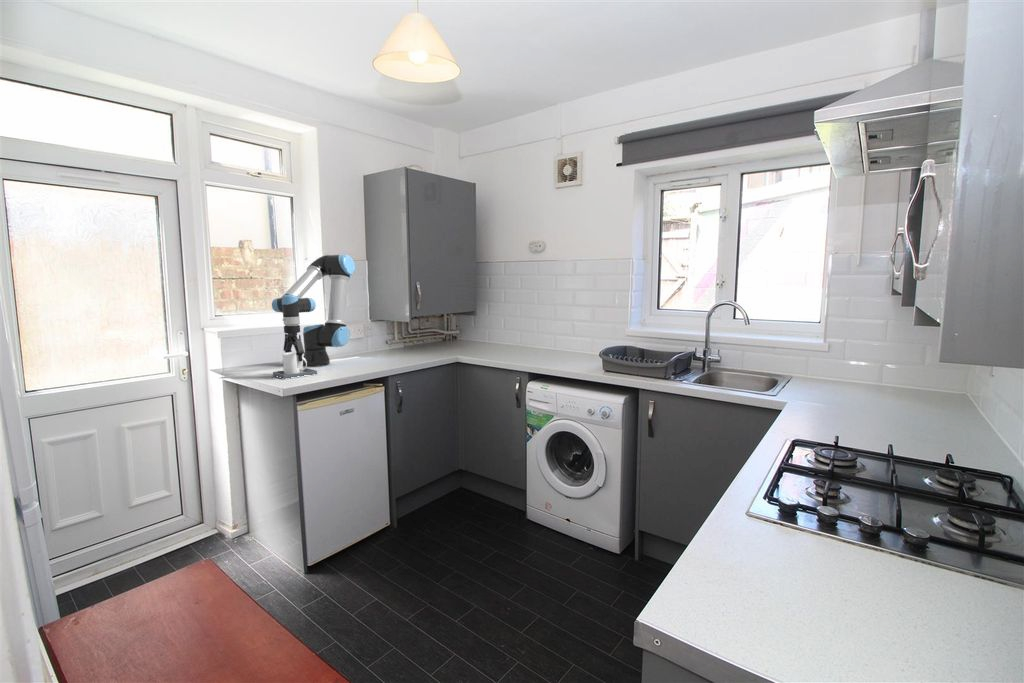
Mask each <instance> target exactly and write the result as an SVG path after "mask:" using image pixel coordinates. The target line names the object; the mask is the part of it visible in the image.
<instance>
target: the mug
mask: <svg viewBox="0 0 1024 683" xmlns="http://www.w3.org/2000/svg"><path fill="white" fill-rule="evenodd" d="M302 357H303V356H302ZM303 360H304V361H305V362H306V366H304V367H301V368H297V358H296V351H295V352H291V353H286V352H284V353H282V364H283V365H282V366H283V371H284V374H285V375H288V374H295V373H302V371H304V370H305V369H306V368H308V366H307V361H306V359H305V358H304V357H303Z"/></svg>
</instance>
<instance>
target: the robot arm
mask: <svg viewBox="0 0 1024 683" xmlns="http://www.w3.org/2000/svg"><path fill="white" fill-rule="evenodd" d="M355 270H356V266H355V261H354V260H353V258H352V257H351V255H349V254H325V255H322V256H320V257H318V258H316V259H315V260H314V261H313V262H311V263H310V264H309V265H308V266H307V268H306V271H305V272H303V274H302V275H301V276H300V277H299V278H298V279H297V280H296V281H295V282H294V283H293V285H291V287H290V288H289V289H288V290H287V291H286V292H285V293H284V294H283V295H282V296H281V297H277V298H274V299H273V300H272V302H271V308H272V309H273V311H274V312H275V313H282V323H283V325H284V326H283V333H284V340H283V341H284V342H283V343H284V344H283V350H282V351H283V352H284V353H292V347H294V349H295V352H296V358H297V368H301V367H302V368H304V367H305V366H306V362H305V361H304V360H303V357H304V358H305V359H306V361H307V367H316V366H315V365H319V366H324V365H325V364H326V365H328V364H331V360H330V357H329V355H328V352H327V349H326V348H329V347H330V348H331V347H332V348H339V347H341V348H342V347H344V346H346V345H347V344H348V342H349V340H350V336H351V335H350V331H349V330H350V329H349V328H348V327H347V324H346V323H345V322H344V321H345V307H346V296H347V294H346V293H347V284H348V283H347V282H348V281H349V280H350V279H351V278H350V277H351V276H352V275H354V273H355ZM325 276H328V278H329V279H330V280H331V281H330V289H329V290H330V292H329V301H328V302H329V304H328V314H327V320H326V321H325V322H324V323H322V324H320V323H319V324H315V325H308V326H307V325H306V326H304V327H303V328H302V329H303V331H302V332H303V333H302V336H303V342H302V338H301V334H298V333H301V326H300V324H301V321H300V314H301V313H302V314H303V313H310V312H313V311H315V309H316V307H317V306H316V301H315V300H314V298H312V297H303V296H304V295H305V294H306V293H307V292H308V291H309V290H310V289H311V288H312V287H313V286H314V284H316V282H317V281H319V280H321V279H322V278H323V277H325ZM303 365H304V366H303Z"/></svg>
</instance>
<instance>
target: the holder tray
mask: <svg viewBox="0 0 1024 683" xmlns="http://www.w3.org/2000/svg"><path fill="white" fill-rule="evenodd" d="M312 374H317V375H318V370H316V369H311V368H308V367H306V369H305V370H304V371H302V373H295V374H288V375H285V374H284V370H278V371H273V372H272V376H273V375H274V376H273V377H275V376H278V377H281V378H280V379H282V378H284V379H283V380H286V379H285V378H290V379H292V378H291V377H297V376H304V375H311V376H313V375H312ZM278 377H277V378H278ZM304 377H305V376H304ZM297 378H298V377H297Z"/></svg>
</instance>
